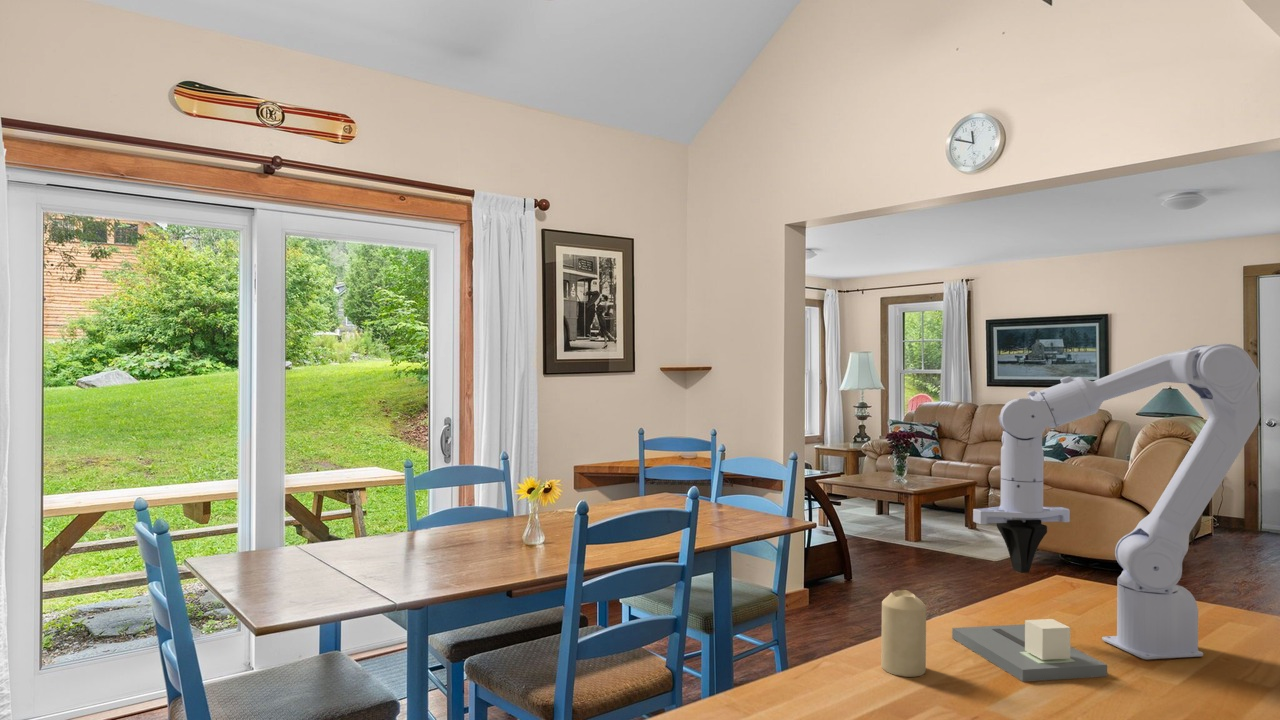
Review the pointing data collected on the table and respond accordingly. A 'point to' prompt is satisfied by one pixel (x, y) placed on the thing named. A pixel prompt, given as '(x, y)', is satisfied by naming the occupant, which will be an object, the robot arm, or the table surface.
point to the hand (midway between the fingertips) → (1021, 571)
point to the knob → (1047, 639)
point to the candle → (903, 634)
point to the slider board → (1025, 654)
